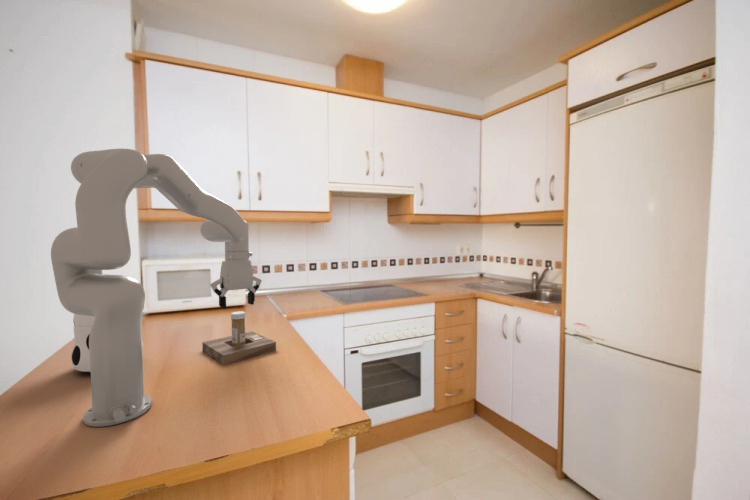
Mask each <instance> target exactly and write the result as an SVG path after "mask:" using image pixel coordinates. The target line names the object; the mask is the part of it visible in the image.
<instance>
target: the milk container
mask: <svg viewBox="0 0 750 500" xmlns="http://www.w3.org/2000/svg"><path fill="white" fill-rule="evenodd" d="M94 321H95V316H85V315H78V314H74V313H73V336H74V343H73V346H72V349H71V355H70V360H71V364H72V367H73V369H74V370H75V372H78V373H82V374H91V371H90V351H89V336H90V332H91V329H92V326H93V324H94ZM143 351H144V343H143V341H142V352H143Z"/></svg>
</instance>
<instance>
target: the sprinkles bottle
mask: <svg viewBox="0 0 750 500" xmlns="http://www.w3.org/2000/svg"><path fill="white" fill-rule="evenodd" d="M230 318H231V336H232V347H236V346H240V345H244V344H245V333H246V323H245V320H246V312H245V311H242V310H241V311H239V310H238V311H233V312H231V313H230Z"/></svg>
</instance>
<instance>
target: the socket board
mask: <svg viewBox="0 0 750 500" xmlns="http://www.w3.org/2000/svg"><path fill="white" fill-rule="evenodd" d="M201 343H202V352H204V353H205V354H207V355H208V356H210V357H211V358H213V359H215V360H216V361H218V363H220V364H221V365H223V366H224V365H228V364H232V363H235V362H238V361H242V360H246V359H249V358H252V357H253V358H254V357H257V356H261V355H264V354H269V353H272V352H275V351H277V341H275V340H273V339H270V338H268V337H266V336H264V335H261V334H259V333H256V332H254V331H252V330H251V331H247V332H246V331H245V344H244V345H240V346H236V347H232V335H228V336H223V337H220V338H216V339H211V340H210V339H209V340H206V341H202V342H201Z"/></svg>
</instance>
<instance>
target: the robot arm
mask: <svg viewBox="0 0 750 500" xmlns="http://www.w3.org/2000/svg"><path fill="white" fill-rule="evenodd" d="M70 171H71V173H72V174H71V175H72V176H73V177H74V179H75V180H76V181H77V182H78V183H79V184H80V185H79V187H78V189H77V192H76V195H75V202H74V204H75V206H74V207H75V214H76V215H75V216H76V217H75V218H76V225H77V227H71V228H66V229H64V230H63V231H61V232H60V233H59V234H58V235H56V237H55V238H54V240H53V242H52V244H51V248H50V261H51V264H52V271H53V276H54V282H55V286H56V291H57V296H58V299H59V302H60V303H61V306H62V307H63V308H64V309H65V310H66V311H68V312H69V313H71V314H73V315H74V314H78V315H85V316H95V321H94V324H93V326H92V329H91V332H90V336H89V351H90V371H91V373H90V387H91V406H92V407H91V408H89V409H88V410H87V411H85V412H84V414H83V420H82V421H83V424H85V425H86V426H88V427H94V428H95V427H97V428H98V427H99V428H100V427H102V428H103V427H110V426H114V425H115V426H116V425H118V424H123V423H125V422H128V421H131V420H134V419H136V418H138V417H139V416H141V415H143V414H145V413H147V411H148V410H149V409H150V408H151V407H152V405H153V400H152V397H151V396H150V395H148V394H145V388H144V385H145V384H144V368H143V367H144V366H143V365H144V364H143V363H144V362H143V351H142V342H143V340H142V339H143V338H142V318H143V311H144V308H145V301H146V291H145V289H144V287H143V285H142V284H141V283H140V282H139V280H137V279H135V278H133V277H130V276H127V275H121V274H103V271H109V270H111V271H112V270H117V269H121V268H123V267H124V266H126V265H127V264H128V263H129V261H130V259H131V256H132V253H131V251H132V249H131V241H130V235H129V228H128V222H127V210H126V206H127V205H126V204H127V201H128V197H129V196H130V194H131V192H133V190H134V189H149V188H153V189H156V190H157V191H158V192H159V193H160V194H161V195H162V196H164V198H165V199H167V200H168V201H169V202H170V203H171V204H172V205H173V206H174V207H175V208H177V210H178V211H180V212H182V213H185V214H187V215H190V216H194V217H197V218H202V219H205V221H204V222H202V224H201V225H200V234H201V236H202V237H203V239H205V240H206V241H209V242H213V243H214V242H215V243H223V242H224V260H222V261H221V265H220V272H219V273H220V274H219V278H218V279H217V280H214V281H213V282H211V283H210V284H209V285H210V287H211V289H212V292H214V294H216V295H217V296H218V306H219V307H220V308H221V309H223V310H224V309H226V308H227V297H226V296H225V295H226V294H227V292H228V291H235V290H236V291H237V290H245V289H247V290H248V292H247V304H249V305H251V306H253V305H255V304H254V303H255V300H256V298H255V297H256V295H255V294H256V293H257V290H258V289H259V288H260V285H261V283H262V282H263V281H262V279H260V278H258V277H256V276H254V274H253V273H254V271H253V266H252V262H251V261H252V260H251V259H250V257H252V256H253V253H252V252H250V250H249V248H250V247H249V246H250V245H249V243H250V241H249V239H250V238H249V223H248V221H246V220H244V218H243V217H242V216H241V214H240V213H239V212H238V211H237V210H236V208H235V207H233V206H231V205H230V204H228V203H227V202H226V201H223V200H221V199H219V198H218V197H216V196H215V195H212V194H210V193H208V192H207V191H205V190H204V189H202V188H201V186H199V184H198V183H197V182H196V181H195V180H194V179H193V178H192V177H191V176H190V175H189V174H188V172H187V171H186V170H185V169H184V167H182V166H181V164H179V163H178V162H177V161H176V159H174V158H173V157H172V156H170V155H168V154H164V153H163V154H162V153H152V154H150V153H149V154H142V153H141V152H140V151H137V150H135V149H133V148H109V149H101V150H90V151H85V152H82V153H79V154H78V155H76V156H75V157H74V158H73V159H72V161H71V164H70ZM254 282H255V284H254ZM218 286H219V288H220V289H219V288H218Z"/></svg>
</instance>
